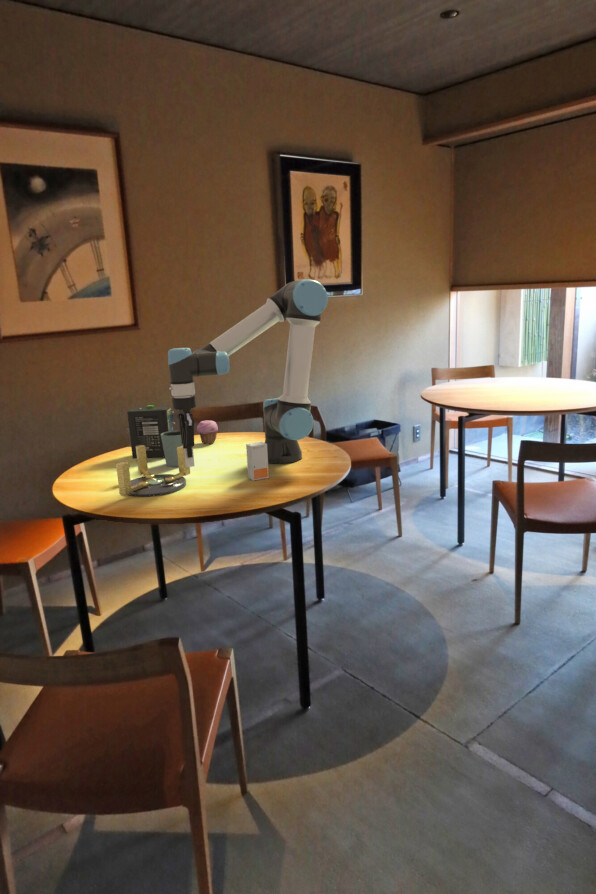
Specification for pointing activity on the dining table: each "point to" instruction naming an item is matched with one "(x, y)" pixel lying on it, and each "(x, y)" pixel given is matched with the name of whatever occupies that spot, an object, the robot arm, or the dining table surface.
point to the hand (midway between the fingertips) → (190, 466)
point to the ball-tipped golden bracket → (127, 479)
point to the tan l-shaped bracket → (180, 466)
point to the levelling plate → (157, 486)
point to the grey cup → (171, 447)
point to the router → (149, 429)
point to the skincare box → (257, 461)
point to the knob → (143, 462)
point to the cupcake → (207, 431)
